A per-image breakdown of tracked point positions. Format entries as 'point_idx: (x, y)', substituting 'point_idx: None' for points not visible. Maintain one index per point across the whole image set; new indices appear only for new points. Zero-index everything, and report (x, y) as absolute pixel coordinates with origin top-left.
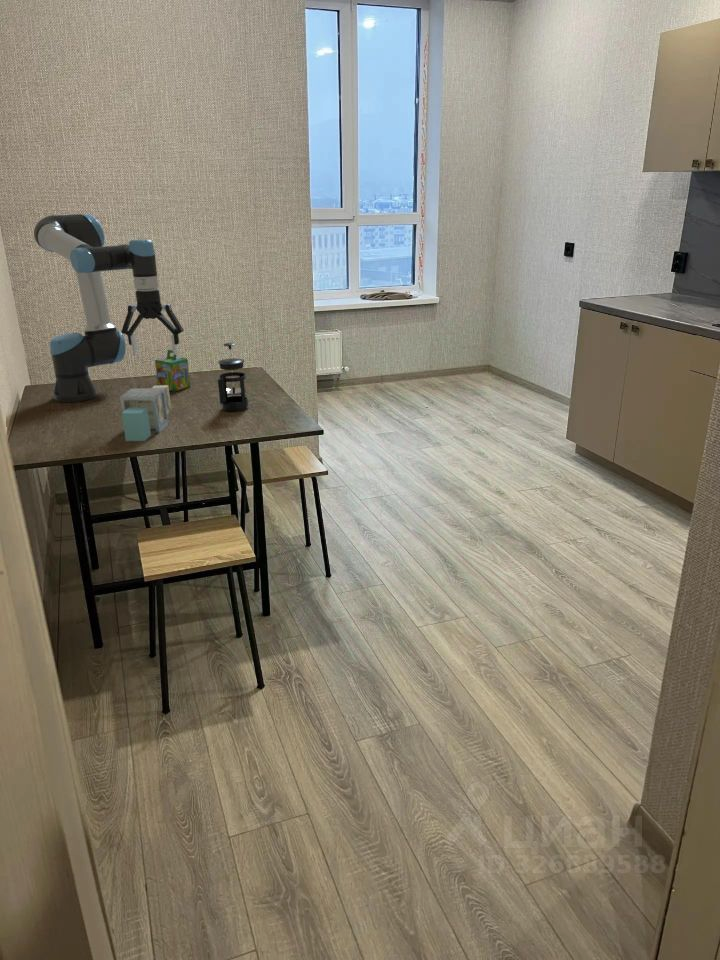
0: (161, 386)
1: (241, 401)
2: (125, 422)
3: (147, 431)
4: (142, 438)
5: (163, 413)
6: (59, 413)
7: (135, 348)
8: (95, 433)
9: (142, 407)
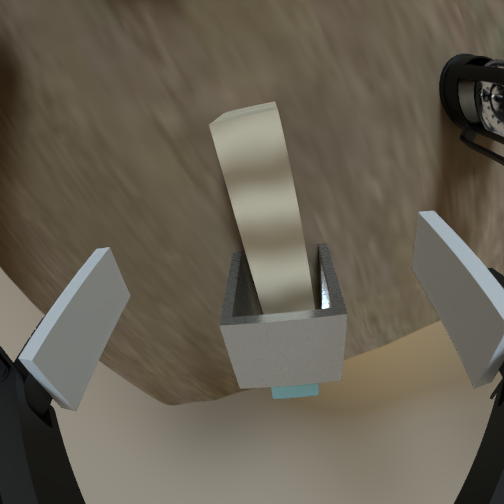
0: (254, 134)
1: (484, 61)
2: None
3: None
4: None
5: (323, 269)
6: (9, 204)
7: (106, 310)
8: (179, 319)
9: None
